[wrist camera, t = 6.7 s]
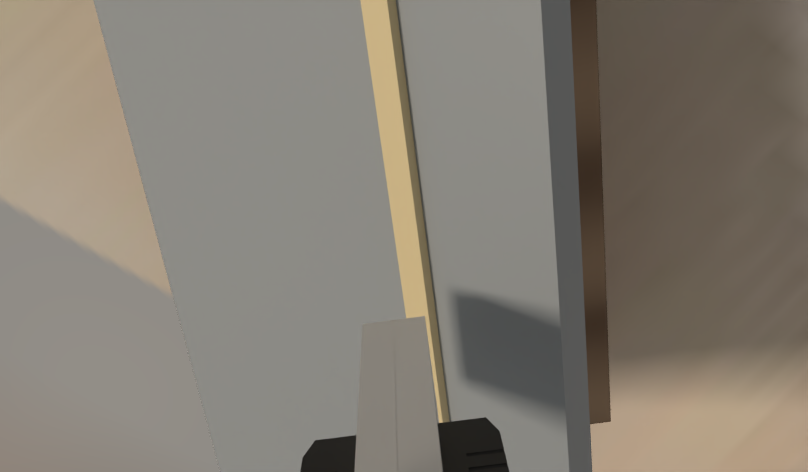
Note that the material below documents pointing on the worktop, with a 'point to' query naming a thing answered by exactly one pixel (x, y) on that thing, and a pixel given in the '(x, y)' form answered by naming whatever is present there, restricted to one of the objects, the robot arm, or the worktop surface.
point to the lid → (363, 209)
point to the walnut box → (591, 203)
